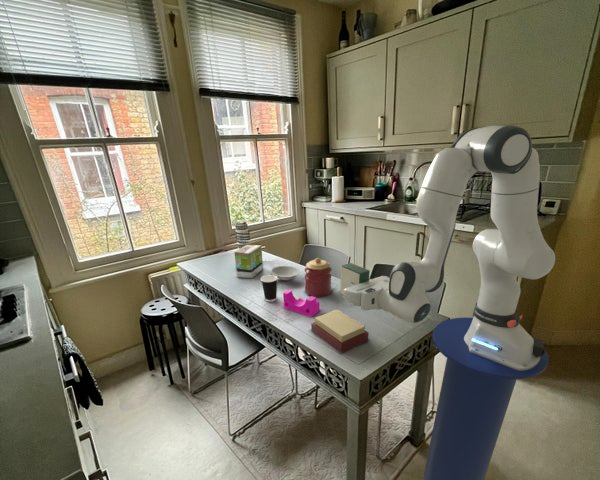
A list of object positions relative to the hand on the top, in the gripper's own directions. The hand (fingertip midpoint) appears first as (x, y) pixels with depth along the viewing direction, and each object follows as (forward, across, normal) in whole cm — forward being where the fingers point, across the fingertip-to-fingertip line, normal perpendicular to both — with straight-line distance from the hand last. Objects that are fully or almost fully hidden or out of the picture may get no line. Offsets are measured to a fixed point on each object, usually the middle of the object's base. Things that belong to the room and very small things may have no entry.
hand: (354, 281), depth 116 cm
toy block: (+25, +7, +20) cm, 33 cm away
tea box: (+80, +7, +20) cm, 82 cm away
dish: (+58, -4, +20) cm, 62 cm away
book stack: (0, +8, +20) cm, 21 cm away
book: (0, 0, +6) cm, 7 cm away
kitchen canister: (+36, -9, +20) cm, 42 cm away
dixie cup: (+42, +14, +20) cm, 49 cm away
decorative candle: (+102, 0, +20) cm, 104 cm away
